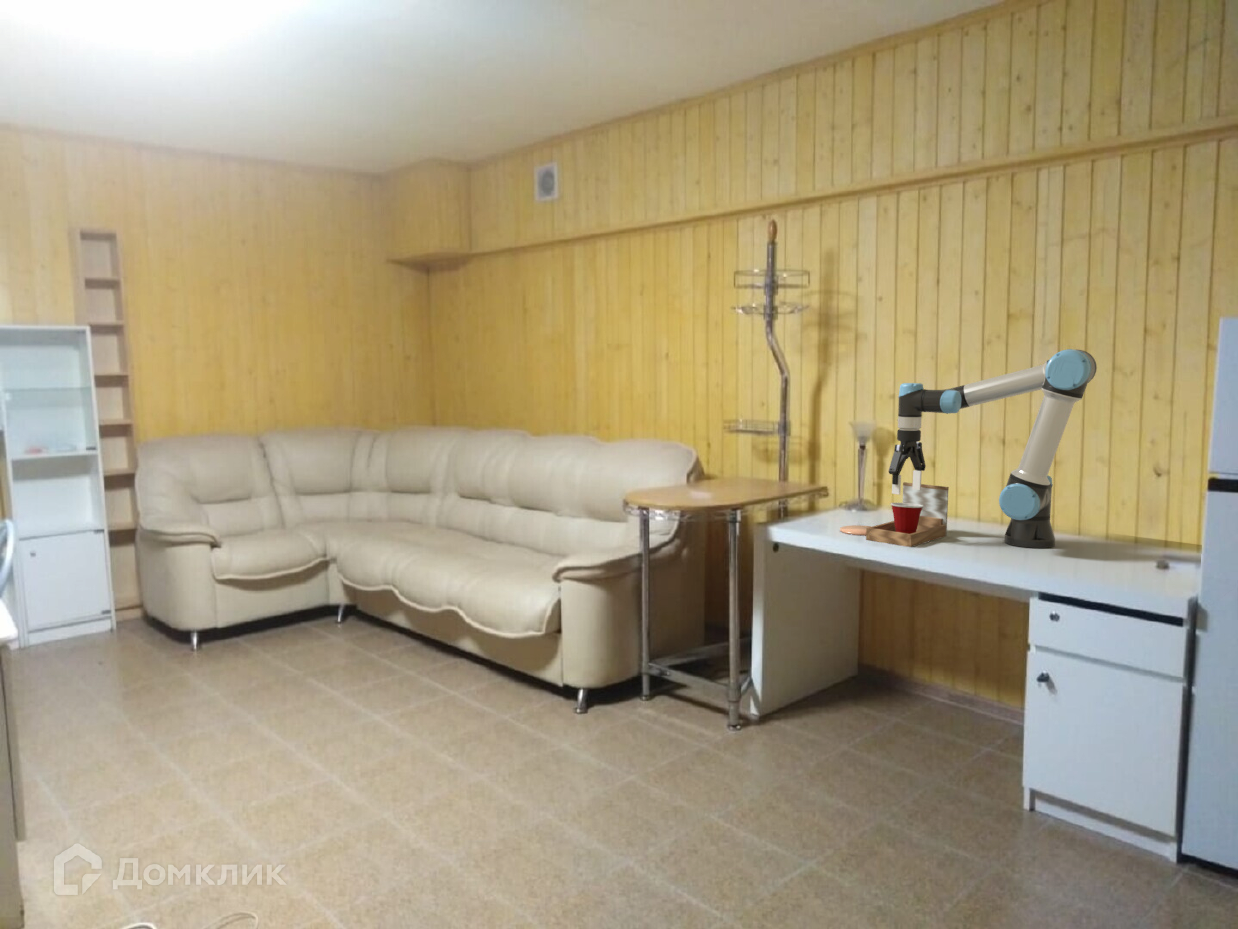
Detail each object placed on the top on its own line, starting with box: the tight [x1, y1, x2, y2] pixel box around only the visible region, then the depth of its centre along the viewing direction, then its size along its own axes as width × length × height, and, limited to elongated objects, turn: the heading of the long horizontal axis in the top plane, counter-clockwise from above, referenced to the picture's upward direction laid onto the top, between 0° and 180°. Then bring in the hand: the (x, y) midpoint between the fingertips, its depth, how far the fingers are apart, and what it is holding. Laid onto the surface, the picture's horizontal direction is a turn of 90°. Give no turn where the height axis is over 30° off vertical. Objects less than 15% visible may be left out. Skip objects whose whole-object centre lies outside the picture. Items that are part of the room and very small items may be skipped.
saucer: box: [839, 524, 872, 537], centre depth 312 cm, size 14×14×1 cm
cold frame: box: [865, 481, 949, 548], centre depth 300 cm, size 16×24×17 cm
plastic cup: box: [889, 502, 924, 534], centre depth 300 cm, size 11×11×12 cm
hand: (906, 491), depth 299 cm, fingers open, 13 cm apart
